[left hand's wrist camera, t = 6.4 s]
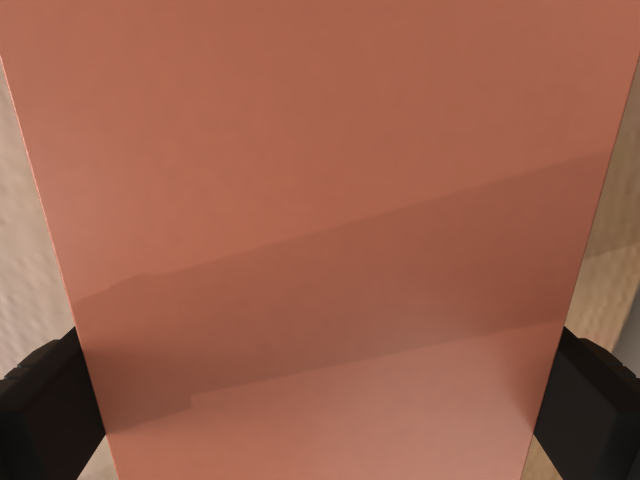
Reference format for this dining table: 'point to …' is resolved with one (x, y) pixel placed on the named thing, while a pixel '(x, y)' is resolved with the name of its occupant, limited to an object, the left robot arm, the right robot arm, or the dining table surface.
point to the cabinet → (319, 220)
